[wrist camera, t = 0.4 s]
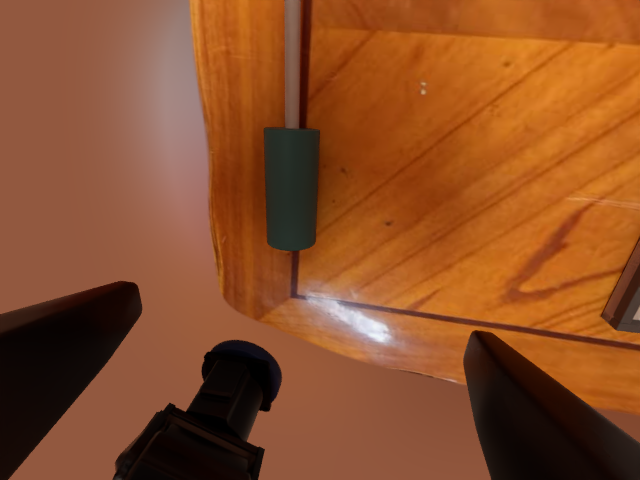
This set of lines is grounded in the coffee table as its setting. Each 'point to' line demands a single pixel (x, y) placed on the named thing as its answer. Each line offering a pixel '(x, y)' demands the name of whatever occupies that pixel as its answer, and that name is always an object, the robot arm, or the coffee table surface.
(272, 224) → the screwdriver
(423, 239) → the coffee table surface
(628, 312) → the whiteboard
